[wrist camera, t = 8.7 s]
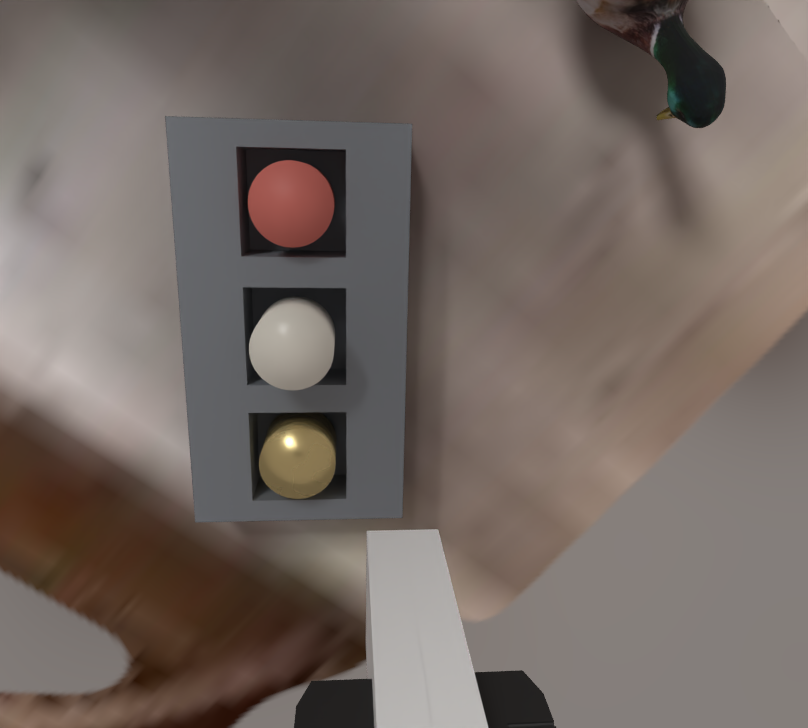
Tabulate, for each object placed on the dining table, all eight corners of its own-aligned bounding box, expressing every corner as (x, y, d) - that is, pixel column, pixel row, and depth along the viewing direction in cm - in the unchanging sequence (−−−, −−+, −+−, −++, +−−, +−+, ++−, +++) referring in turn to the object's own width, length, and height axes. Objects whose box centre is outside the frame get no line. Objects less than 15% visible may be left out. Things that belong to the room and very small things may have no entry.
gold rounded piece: (267, 472, 40) (260, 499, 36) (265, 407, 39) (257, 429, 35) (336, 471, 40) (335, 498, 37) (336, 406, 39) (335, 428, 36)
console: (209, 490, 41) (195, 522, 38) (185, 122, 35) (165, 116, 31) (397, 486, 42) (402, 517, 39) (405, 129, 36) (412, 123, 32)
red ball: (258, 240, 36) (249, 247, 33) (255, 160, 35) (246, 159, 31) (335, 241, 36) (334, 248, 33) (334, 162, 35) (333, 161, 32)
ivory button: (259, 370, 36) (250, 390, 33) (256, 296, 35) (246, 308, 32) (335, 370, 37) (334, 390, 33) (335, 296, 35) (333, 309, 32)
